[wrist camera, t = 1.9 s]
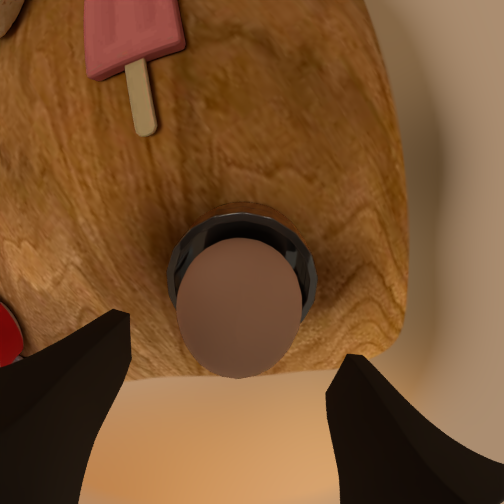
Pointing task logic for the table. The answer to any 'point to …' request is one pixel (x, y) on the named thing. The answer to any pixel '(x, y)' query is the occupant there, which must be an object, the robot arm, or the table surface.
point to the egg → (239, 307)
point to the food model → (8, 14)
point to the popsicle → (131, 46)
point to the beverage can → (9, 337)
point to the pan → (251, 227)
